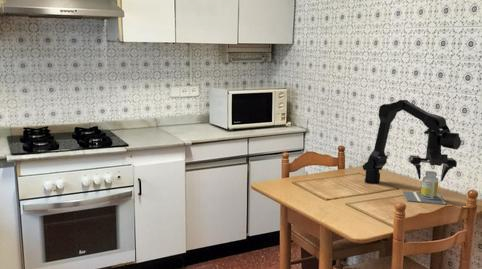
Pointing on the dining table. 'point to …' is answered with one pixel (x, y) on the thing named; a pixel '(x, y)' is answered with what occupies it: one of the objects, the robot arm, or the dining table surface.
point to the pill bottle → (429, 185)
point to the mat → (418, 198)
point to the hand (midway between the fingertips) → (430, 180)
